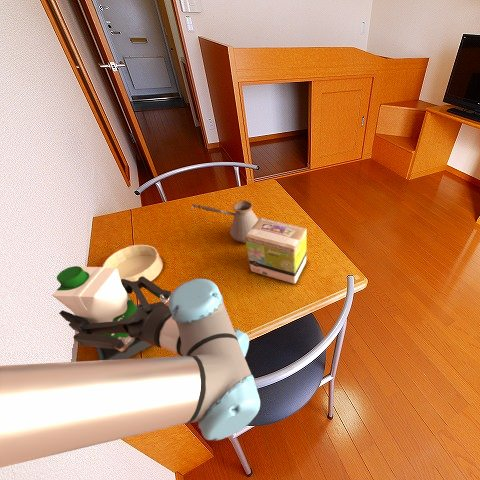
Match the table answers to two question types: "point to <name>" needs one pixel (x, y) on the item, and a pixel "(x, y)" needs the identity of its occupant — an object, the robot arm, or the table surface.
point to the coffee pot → (238, 219)
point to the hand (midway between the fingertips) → (86, 297)
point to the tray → (116, 355)
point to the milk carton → (95, 295)
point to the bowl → (136, 262)
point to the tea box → (277, 249)
